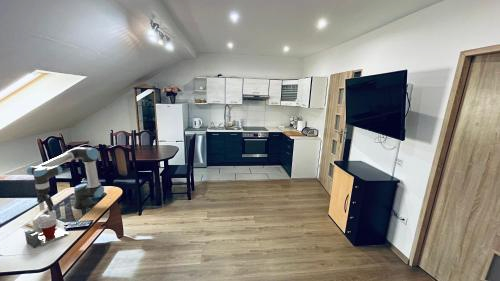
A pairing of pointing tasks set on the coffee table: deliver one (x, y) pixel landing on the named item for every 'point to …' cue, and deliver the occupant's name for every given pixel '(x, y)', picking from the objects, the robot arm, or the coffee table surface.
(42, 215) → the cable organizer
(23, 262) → the coffee table surface
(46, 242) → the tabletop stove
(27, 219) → the coffee table surface
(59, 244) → the coffee table surface
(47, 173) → the robot arm
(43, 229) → the plastic cup
